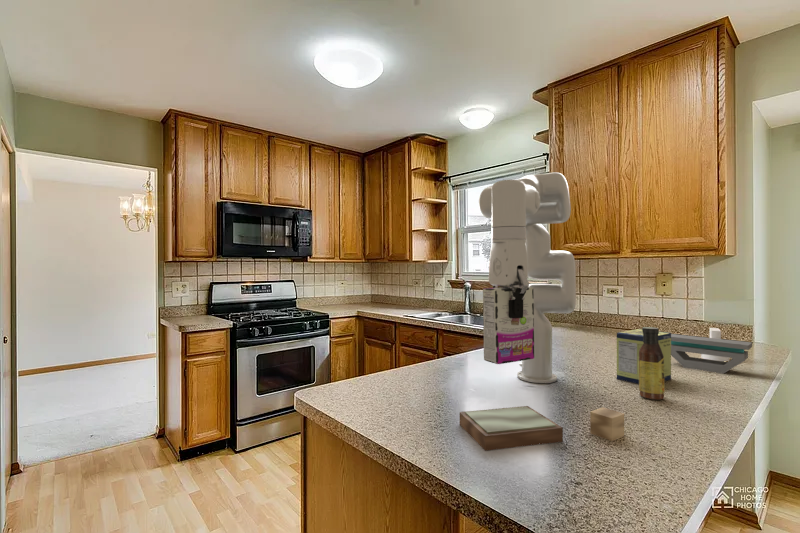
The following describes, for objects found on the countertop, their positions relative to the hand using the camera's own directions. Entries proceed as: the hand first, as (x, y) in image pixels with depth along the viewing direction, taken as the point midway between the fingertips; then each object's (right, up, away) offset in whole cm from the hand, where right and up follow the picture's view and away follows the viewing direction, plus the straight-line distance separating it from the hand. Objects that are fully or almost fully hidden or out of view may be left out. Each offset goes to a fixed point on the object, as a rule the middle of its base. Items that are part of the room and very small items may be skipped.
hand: (508, 315), depth 92 cm
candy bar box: (0, -10, 0) cm, 10 cm away
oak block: (+22, -27, -1) cm, 34 cm away
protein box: (+56, -27, +43) cm, 76 cm away
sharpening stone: (+87, -27, +57) cm, 107 cm away
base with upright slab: (+102, -26, +72) cm, 128 cm away
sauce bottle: (+47, -27, +25) cm, 60 cm away
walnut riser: (0, -27, 0) cm, 27 cm away
